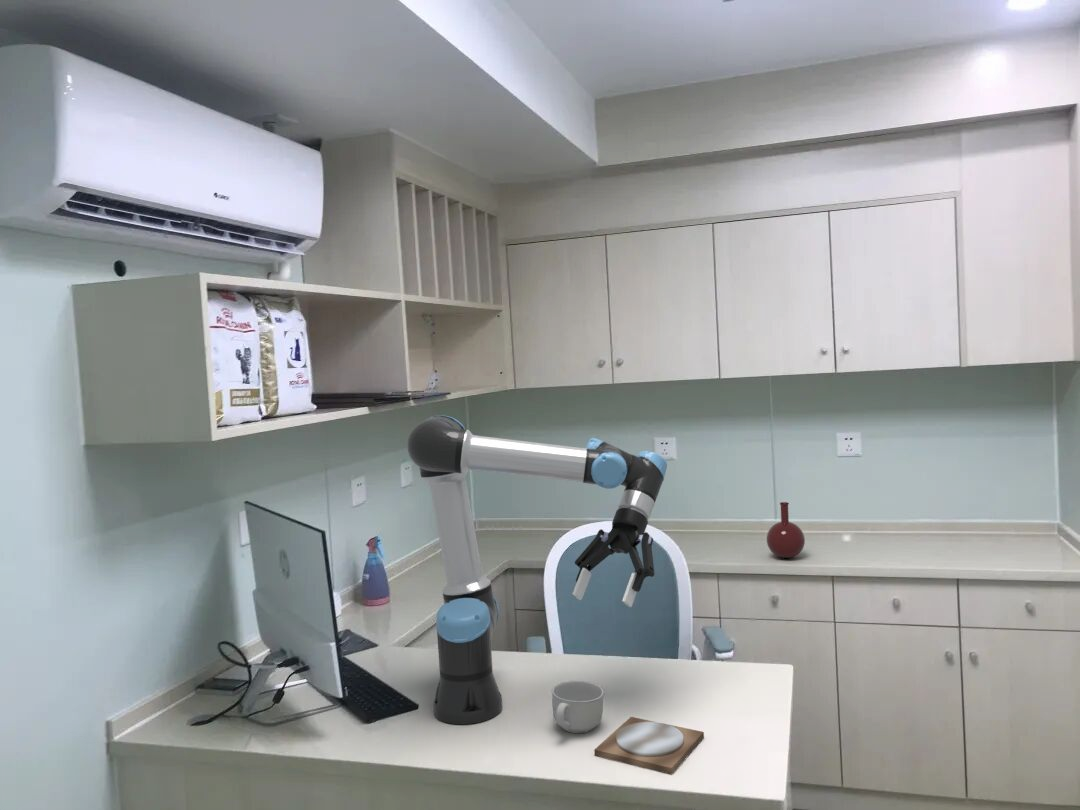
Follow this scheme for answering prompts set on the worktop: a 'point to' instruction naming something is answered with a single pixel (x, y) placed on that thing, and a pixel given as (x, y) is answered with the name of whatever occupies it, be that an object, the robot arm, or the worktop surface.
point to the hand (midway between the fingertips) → (601, 600)
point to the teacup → (577, 705)
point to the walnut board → (650, 744)
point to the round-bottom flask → (785, 536)
